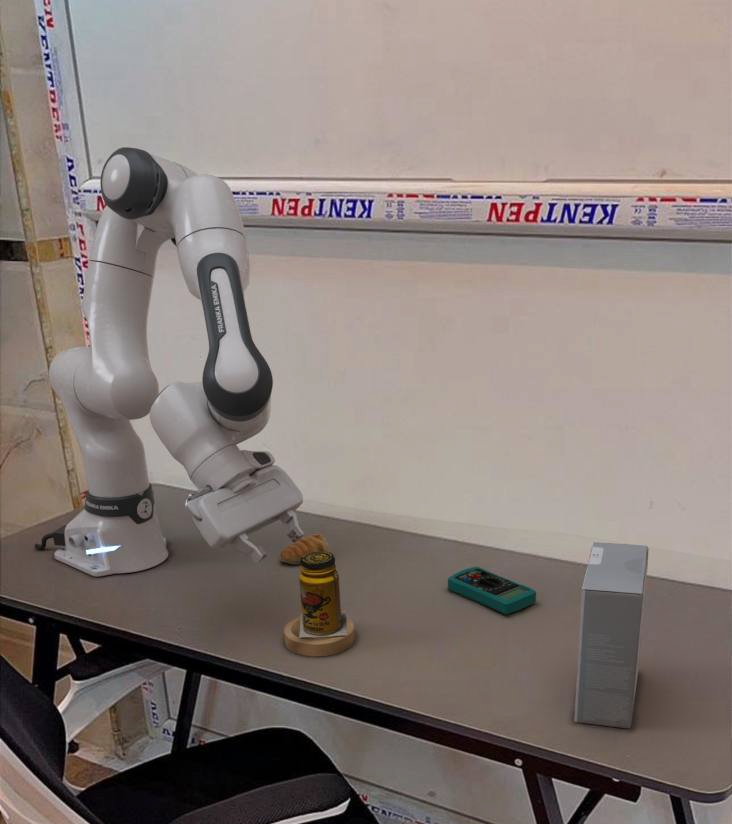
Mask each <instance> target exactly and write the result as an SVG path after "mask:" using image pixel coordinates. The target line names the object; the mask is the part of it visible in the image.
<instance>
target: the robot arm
mask: <svg viewBox="0 0 732 824" xmlns="http://www.w3.org/2000/svg"><path fill="white" fill-rule="evenodd" d="M100 193H101V197H102V200H103V202H104V204H105V205H106V206H105V207H104V208H103V210H102V212H101V214H100V217H99V219H98V223H97V226H96V228H95V232H94V235H93V239H92V243H91V247H90V252H89V257H88V263H87V269H86V275H85V282H84V287H83V293H82V299H81V311H82V313H83V316H84V317H85V320H86V324H87V328H88V339H89V346H75V347H71V348H67V349H64V350H61V351H59V353H57V354H56V355H55V356H54V357H53V359H52V361H51V363H50V365H49V369H48V379H49V380H48V381H49V384H50V386H51V388H52V390H53V392H54V393H55V394H56V395H57V397H58V398H59V400H60V402H61V403H62V404H61V405H62V406H63V408H64V410H65V413H66V415H67V418H68V420H69V424H70V425H71V428H72V430H73V433H74V435H75V438H76V440H77V443H78V446H79V450H80V453H81V457H82V458H81V459H82V463H83V468H84V469H83V470H84V474H85V479H86V485H87V490H84V491H82V492H80V493H78V496H80V495H81V496H80V497H79V498H78V499H79V500H83V499H84V500H85V501H84V507H83V509H82V511H80V512H79V513H78V514H77V515H76V516H75V517H74V518H73V519H71V521H69V522H68V523H67V524H64V525H62V526H60V527H58V528H57V529H56V530H53V532H50V533H47V534H45V535H43V537H42V538H41V542H40V543H41V544H40V543H35V544H34V549H36V550H44V549H45V548H46V547H47V541H48V540H49V539H53V545H54V546H59V548H58V549H57V550H56V551H55V552H54V553H53V554H54V557H53V558H54V559H55V560H56V561H59V562H61V563H63V564H66V565H68V566H69V567H72V568H74V569H77V570H79V571H80V572H83V573H85V574H88V575H90V576H92V577H96V578H97V577H104V576H109V575H116V574H128V573H136V572H141V571H144V570H145V571H146V570H148V569H151V568H154V567H156V566H158V565H160V564H161V563H163V562H165V560H167V558H168V557H169V550H168V549H167V544H168V543H167V539H166V537H164V536H163V533H162V529H161V524H160V521H159V516H158V513H157V509H156V507H155V501H156V500H155V496H154V495H155V492H154V489H153V484H152V483H151V482H150V477H149V472H148V465H147V458H146V451H145V446H144V443H143V440H142V439H141V437H140V436H139V435H138V433H137V431H136V430H135V428H134V426H133V425H132V423H131V421H135V420H140V419H143V418H145V417H146V416H148V415H149V421H150V425H151V426H152V428H153V430H154V432H155V434H156V436H157V437H158V439H159V440H160V441H161V443H162V444H163V446H164V448H165V449H166V450H167V452H168V453H169V454H170V456H171V457H172V459H174V460H175V461H177V462H178V463H179V464H180V465H181V466H182V467H183V468H184V470H185V471H186V473H187V476H188V478H189V479H190V481H191V482H192V484H193V485H194V486H195V487H196V489H197V490H196V491H192V492H190V493H188V494H187V495H186V499H184V507H185V509H186V511H187V512H188V513H189V514H190V516H191V518H192V520H193V522H194V524H195V526H196V528H197V530H198V531H199V533H200V534H201V536H202V537H203V539H204V541H205V542H206V544H207V545H209V547H211V548H212V549H215V550H216V551H219V550H221V549H223V548H225V547H227V546H229V545H231V544H232V545H233V547H234V548H235V549H236V550H238V551H239V552H242V553H243V554H245V555H247V556H249V558H250V559H251V560H252V561H253V562H254V563H255V564H258V563H260V562H261V561H263V560H264V559H265V558H266V557H267V556H268V554H267V552H266V551H265V550H264V548H263V547H262V546H261V545H259V546H257V545H255V544H254V543H252V542H251V541H250V540H249V535H251V534H253V533H255V532H257V531H259V530H261V529H263V528H266V527H267V526H269V525H271V524H274V523H275V522H277V521H279V520H280V521H281V523H282V524H283V525H286V526H287V530H288V533H287V534H286V536H287V537H288V539H290V541H291V542H292V543H294V542H296V541H298V540H300V539H301V538H304V537H305V533H304V531H303V530H302V528H301V527H300V526H299V521H298V515H297V513H296V510H298V508H300V506H301V505H302V504H303V503H304V498H303V493H302V492H301V490H300V488H299V487H298V486H297V485H296V483H295V482H294V481H293V479H292V477H290V476H289V474H288V473H287V472H286V471H285V470H284V469H283V468H282V467H280V466H278V465H274V463H275V462H276V459H275V457H274V455H273V454H272V453H271V452H270V451H266V450H260V451H259V450H247V449H242V450H241V449H240V448H239V446H238V444H240V443H243V442H246V441H247V440H249V439H251V438H253V437H254V436H256V435H258V434H260V433H261V432H262V431H263V430H264V429H265V427H266V426H267V424H268V422H269V420H270V417H271V412H272V410H271V408H272V391H273V386H274V385H273V384H274V380H273V379H274V378H273V373H272V370H271V368H270V365H269V364H268V362H267V360H266V359H265V357H264V356H263V355H262V352H260V350H259V348H258V347H257V346H256V344H255V342H254V340H253V336H252V332H251V327H250V322H249V317H248V316H249V315H248V311H247V307H246V306H247V305H246V301H245V292H246V291H247V289H248V287H249V285H250V273H251V272H250V254H249V253H250V252H249V246H248V240H247V237H246V232H245V231H246V230H245V227H244V223H243V219H242V215H241V212H240V210H239V206H238V204H237V201H236V199H235V196H234V193H233V191H232V189H231V187H230V186H229V185H228V184H227V182H225V181H224V180H223V179H222V178H220V177H218V176H215V175H213V174H206V173H205V174H199V173H197V172H196V171H194V170H192V169H190V168H189V167H187V166H185V165H183V164H181V163H179V162H176V161H171V160H169V159H167V158H163V157H161V156H158V155H154V154H151V153H150V152H148V151H146V150H144V149H140V148H136V147H126V146H124V147H120V148H117V149H116V150H114V151H113V152H112V153H111V154H110V155H109V157H108V158H107V159H106V161H105V163H104V165H103V167H102V170H101V174H100ZM169 240H170V241H171V242H172V244H173V245H174V246H175V247H176V252H177V257H178V258H177V259H178V262H179V267H180V270H181V273H182V277H183V279H184V282H185V285H186V287H187V289H188V292H189V293H190V294H191V295H192V296H193V297H194V298H196V299H198V300H200V302H201V305H202V310H203V311H202V312H203V316H204V323H205V327H206V334H207V339H208V352H207V357H206V360H205V362H204V363H205V364H204V367H203V372H202V381H199V382H198V381H197V382H182V381H174V382H172V383H171V384H168V385H166V386H165V387H164V388H163V389H162V390H161V391H160V385H159V382H158V378H157V376H156V375H155V373H154V371H153V368H152V366H151V362H150V361H151V360H150V355H149V344H148V317H149V311H150V305H151V298H152V292H153V285H154V280H155V275H156V267H157V258H158V254H159V251H160V249H161V248H162V245H164V244H165V243H166V242H167V241H169Z"/></svg>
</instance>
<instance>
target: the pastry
mask: <svg viewBox="0 0 732 824" xmlns="http://www.w3.org/2000/svg"><path fill="white" fill-rule="evenodd" d="M316 551H323V552H328V553H331V554H332V550H331V548H330V544H329V543H328V542H327V538H326V537H325V536H324V535H322V534H320V533H317V534H315V533H313V534H312V535H310V536H303V537H302V538H301V539H300V540H298V541H296V542H292V543H291V544H289V545H287V546H286V547H285V548H283V550H281V551H280V557H279V560H280V561H281V562H283V563H286V564H290V565H294V566H295V565H297V566H299V565H300V566H301V563H300V560H301V557H302V556H304V555H305V554H308V553H311V552H316Z"/></svg>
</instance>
